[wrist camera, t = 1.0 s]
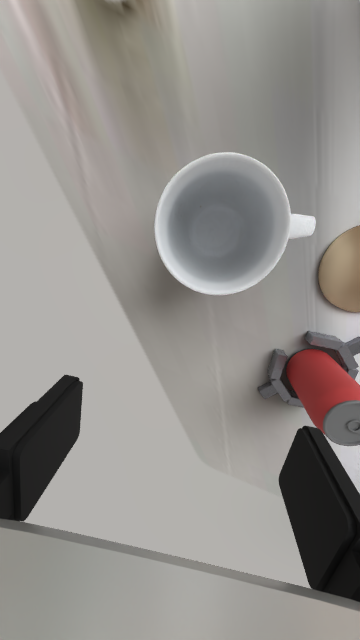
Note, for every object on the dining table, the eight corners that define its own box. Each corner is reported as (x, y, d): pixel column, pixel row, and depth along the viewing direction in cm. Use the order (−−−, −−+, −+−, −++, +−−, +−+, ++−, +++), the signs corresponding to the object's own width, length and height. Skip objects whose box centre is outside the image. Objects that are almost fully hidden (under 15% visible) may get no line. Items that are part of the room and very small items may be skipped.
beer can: (309, 394, 39) (352, 460, 27) (275, 371, 38) (304, 429, 27) (342, 363, 36) (403, 421, 25) (306, 338, 36) (353, 385, 24)
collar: (344, 310, 34) (353, 315, 32) (377, 369, 36) (386, 376, 34) (242, 365, 38) (244, 372, 36) (277, 415, 40) (280, 424, 38)
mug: (294, 177, 30) (356, 136, 18) (288, 271, 33) (336, 292, 21) (169, 188, 32) (145, 157, 19) (175, 277, 35) (158, 299, 23)
